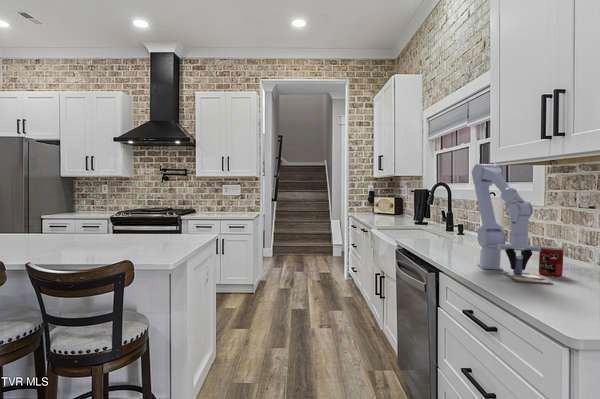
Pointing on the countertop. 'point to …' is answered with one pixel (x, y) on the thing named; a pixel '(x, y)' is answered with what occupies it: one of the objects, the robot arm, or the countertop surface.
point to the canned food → (551, 261)
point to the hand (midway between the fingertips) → (517, 269)
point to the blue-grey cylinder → (518, 265)
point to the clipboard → (528, 278)
